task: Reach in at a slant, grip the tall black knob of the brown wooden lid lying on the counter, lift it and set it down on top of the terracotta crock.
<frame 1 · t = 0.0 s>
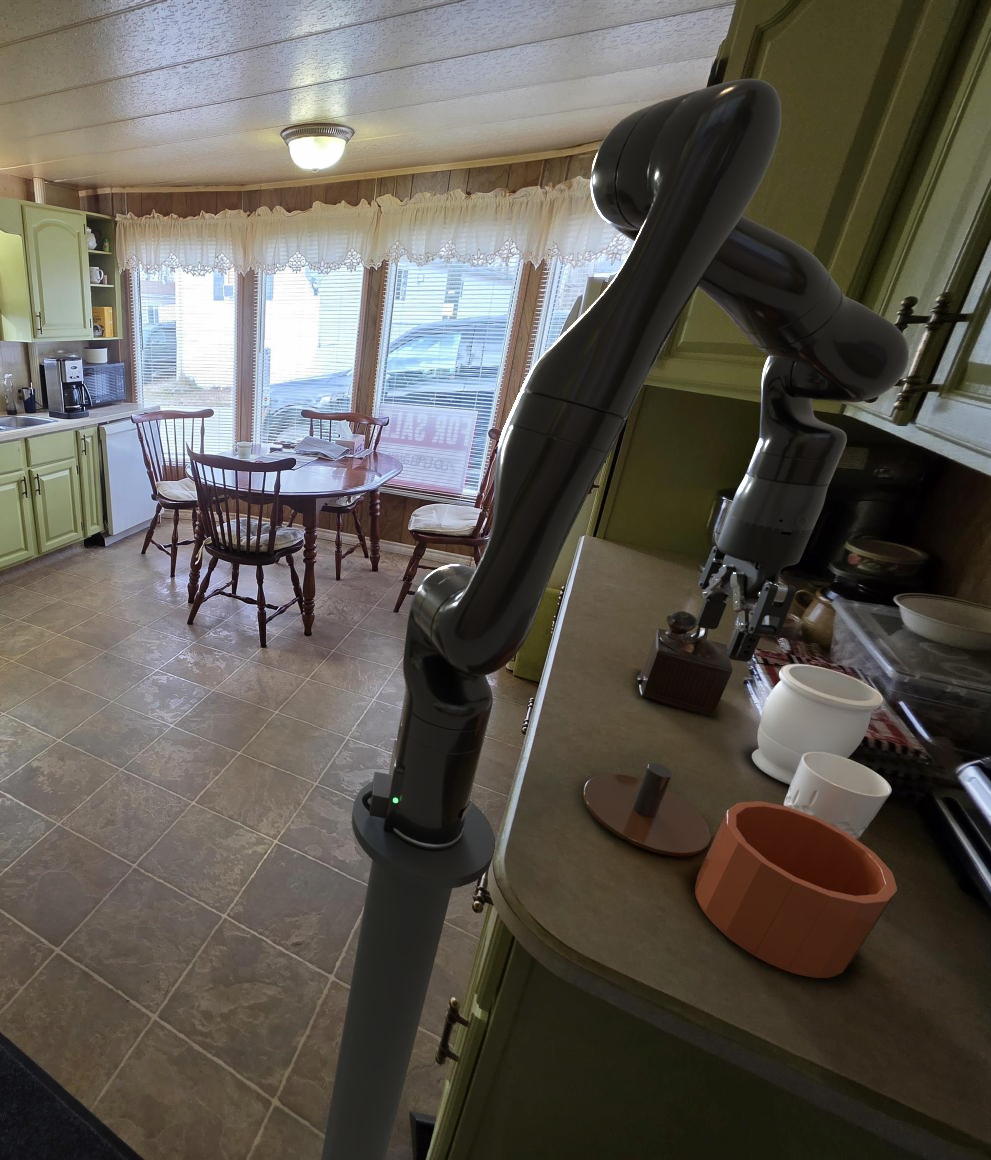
hand: (720, 642, 76), 23 cm above the countertop, tool pointing down, fingers open, 8 cm apart
white cup: (810, 836, 77), on the countertop
manual coffee grinder: (673, 700, 105), on the countertop
lid: (643, 813, 79), point 1 cm above the countertop
crock: (767, 919, 66), on the countertop
jar: (786, 771, 89), on the countertop
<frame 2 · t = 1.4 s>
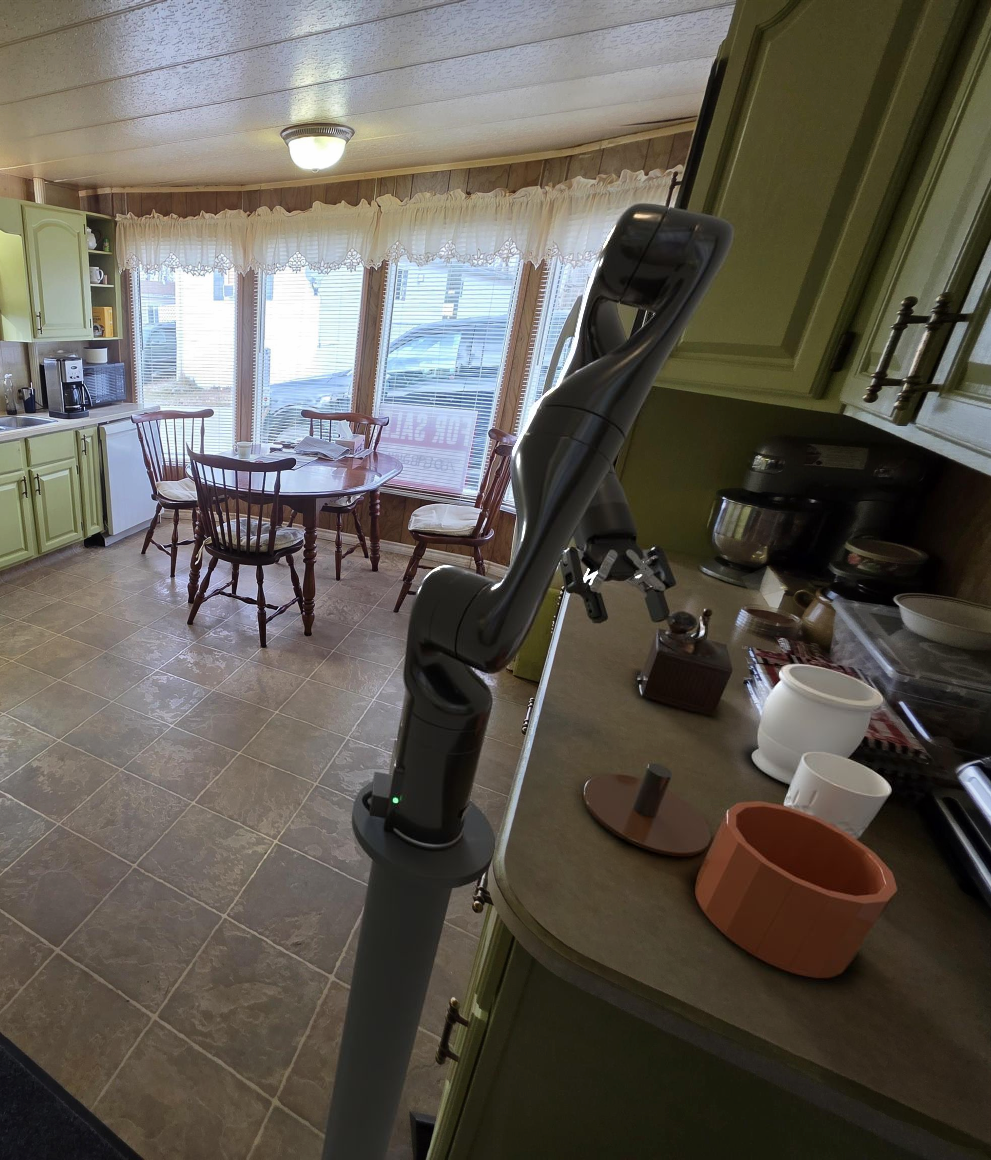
hand: (631, 621, 81), 23 cm above the countertop, tool tilted 45°, fingers open, 8 cm apart
nothing on the countertop moved.
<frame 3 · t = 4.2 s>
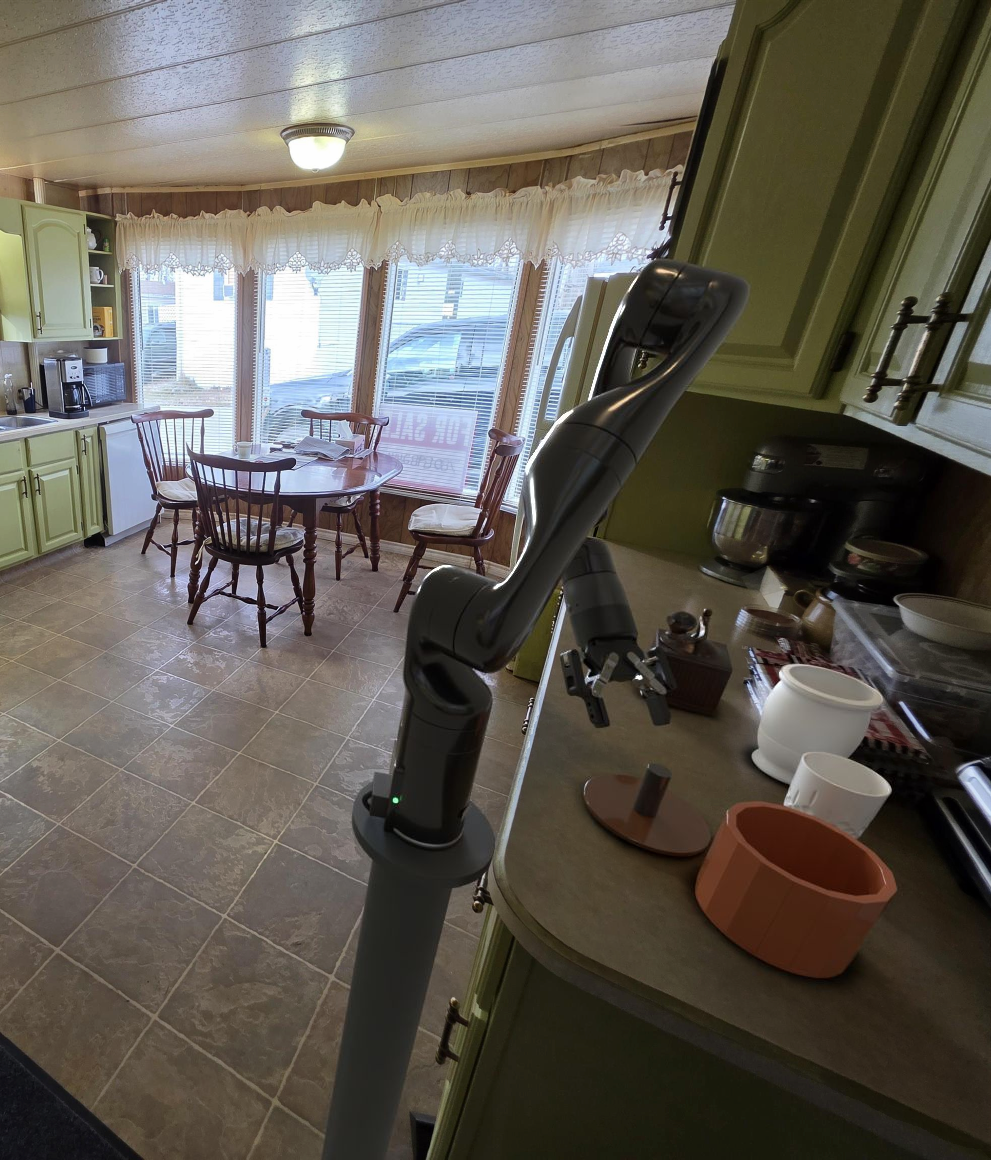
hand: (632, 726, 81), 10 cm above the countertop, tool tilted 45°, fingers open, 8 cm apart
nothing on the countertop moved.
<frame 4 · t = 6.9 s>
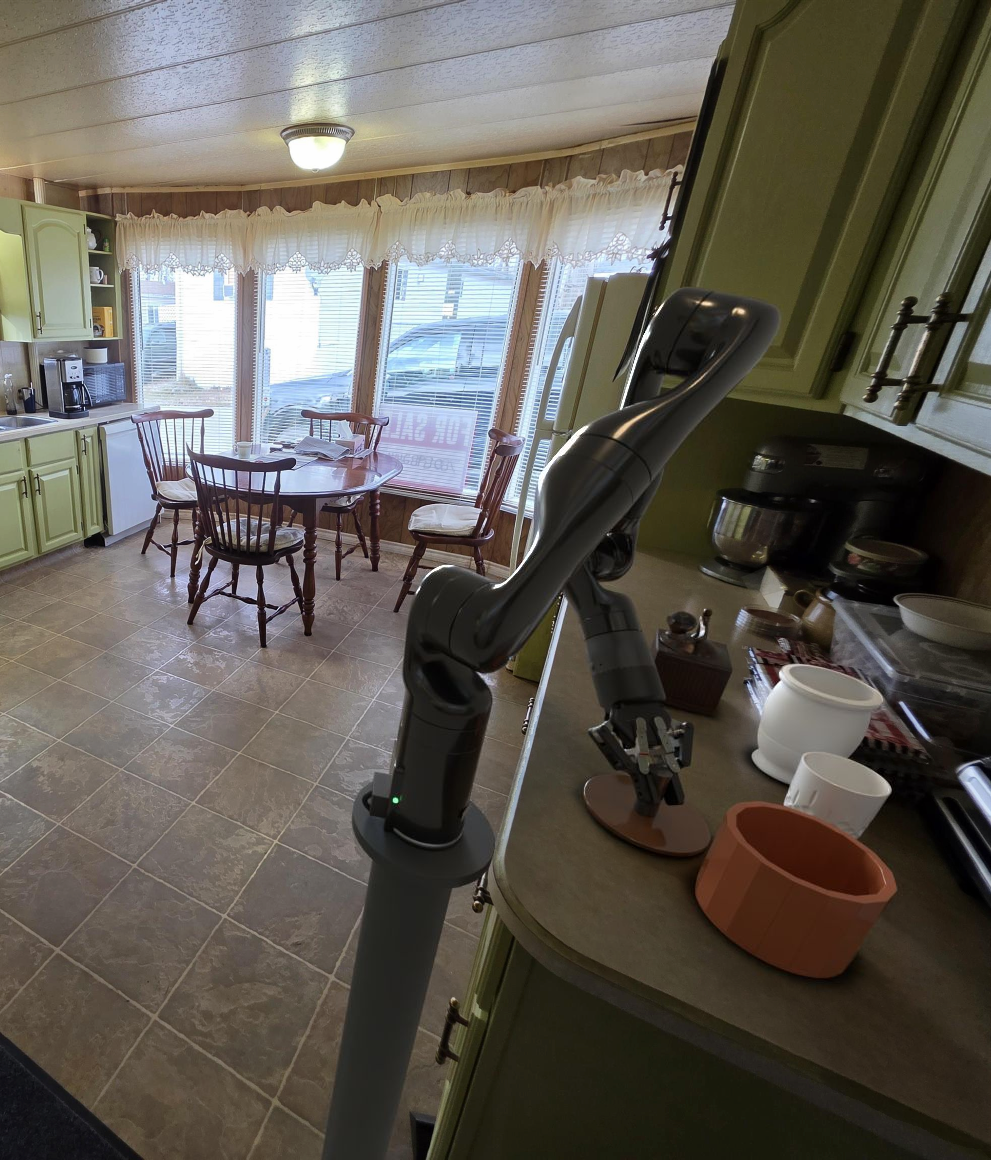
hand: (663, 805, 76), 4 cm above the countertop, tool tilted 45°, fingers closed on lid, 2 cm apart
lid: (643, 813, 79), point 1 cm above the countertop, touching gripper
everything else where it was.
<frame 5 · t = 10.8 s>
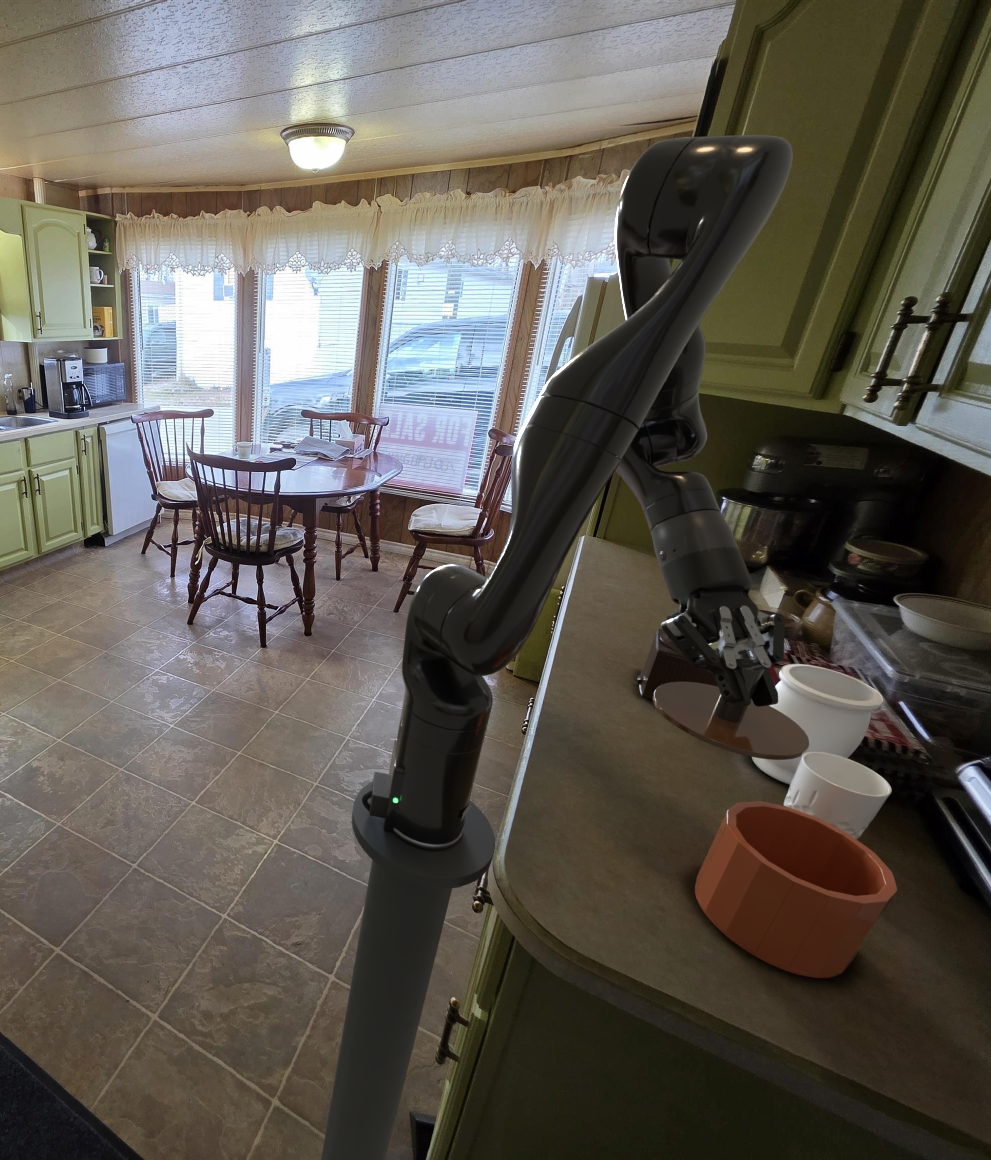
hand: (753, 705, 65), 22 cm above the countertop, tool tilted 45°, fingers closed on lid, 2 cm apart
lid: (725, 719, 68), point 18 cm above the countertop, touching gripper
everything else where it was.
when the fingers open (14 cm above the countertop, at t = 14.9 s): lid stays where it is, resting on crock.
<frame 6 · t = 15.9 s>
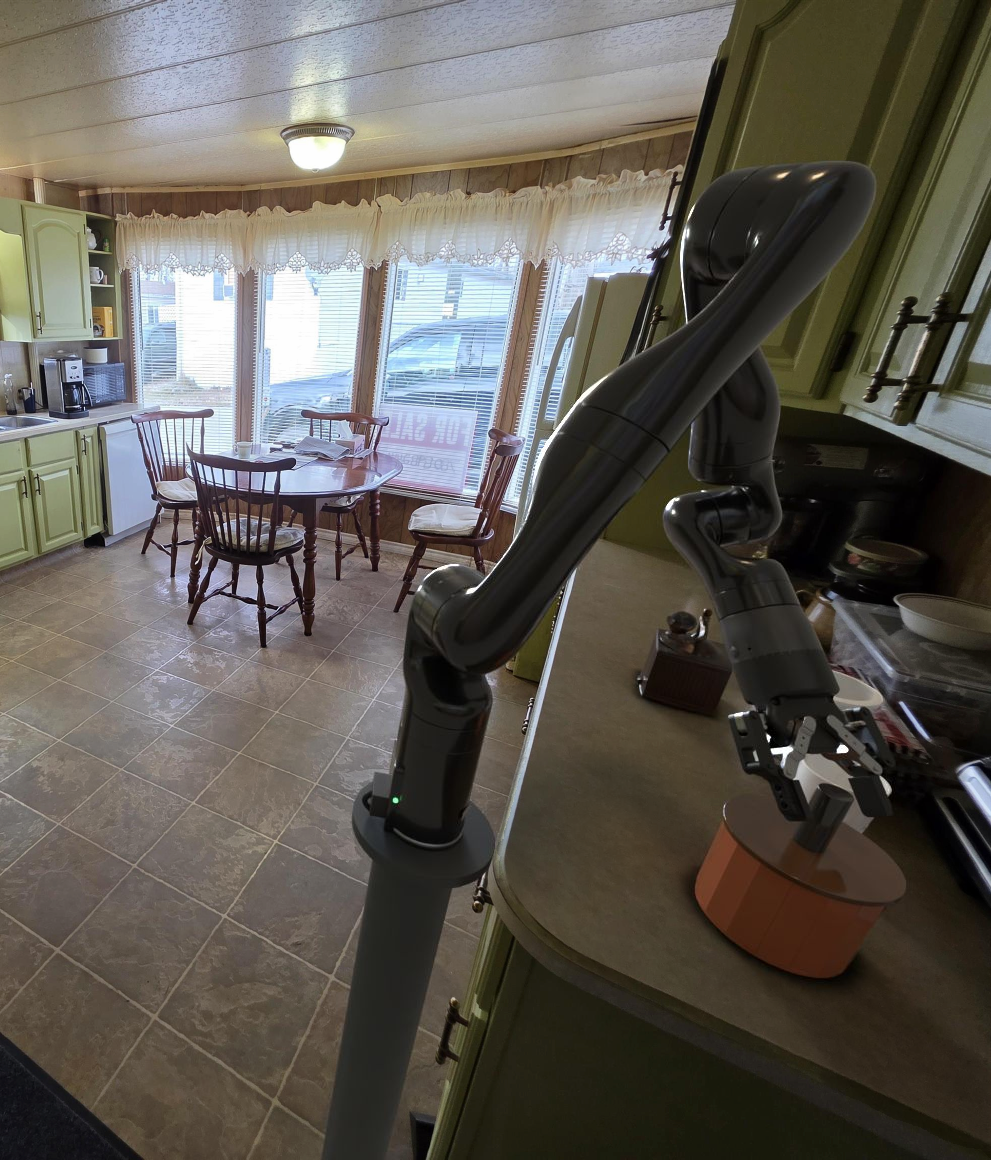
hand: (840, 819, 59), 15 cm above the countertop, tool tilted 45°, fingers open, 8 cm apart
lid: (806, 846, 62), point 10 cm above the countertop, touching crock
everything else where it was.
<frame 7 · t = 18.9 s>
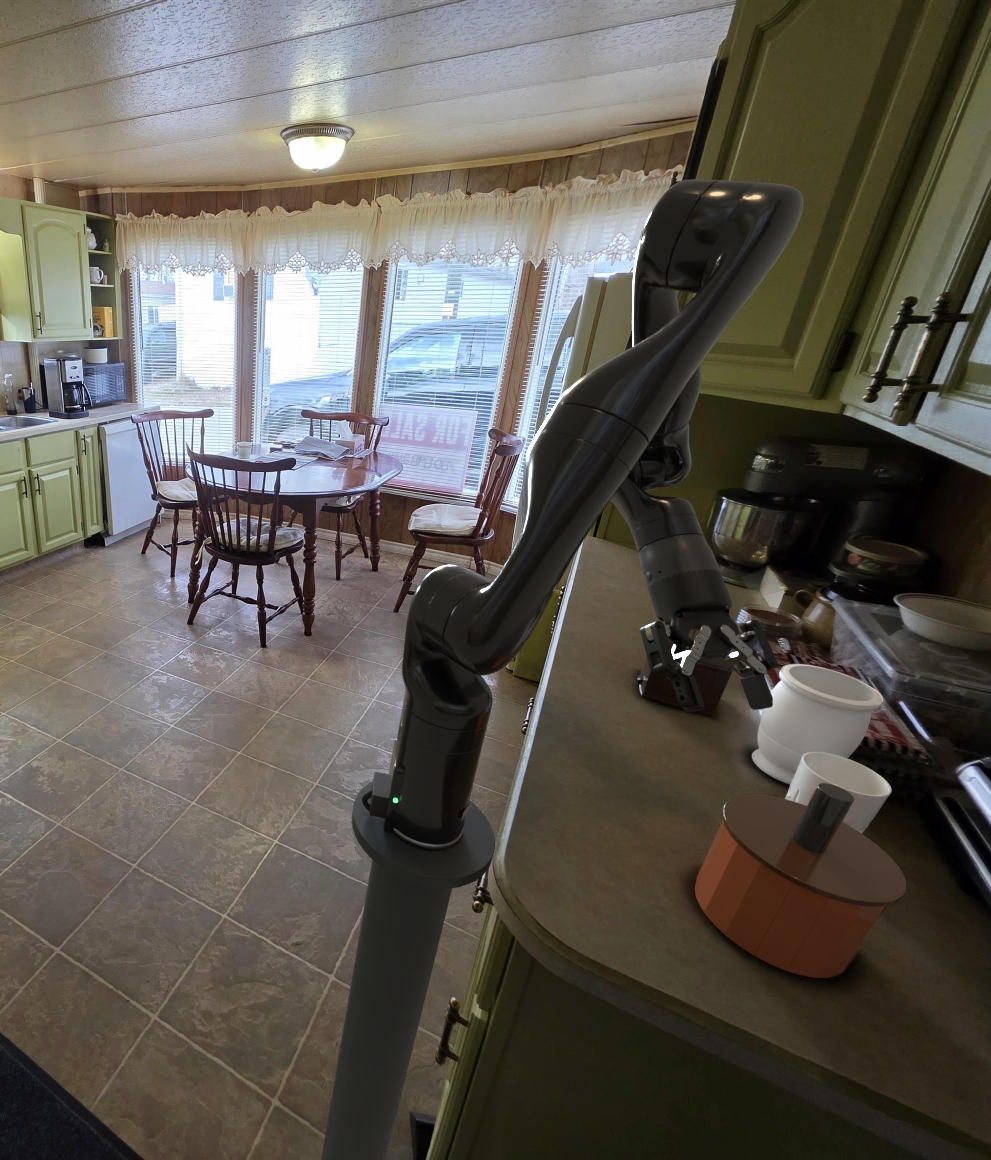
hand: (729, 709, 70), 19 cm above the countertop, tool tilted 45°, fingers open, 8 cm apart
nothing on the countertop moved.
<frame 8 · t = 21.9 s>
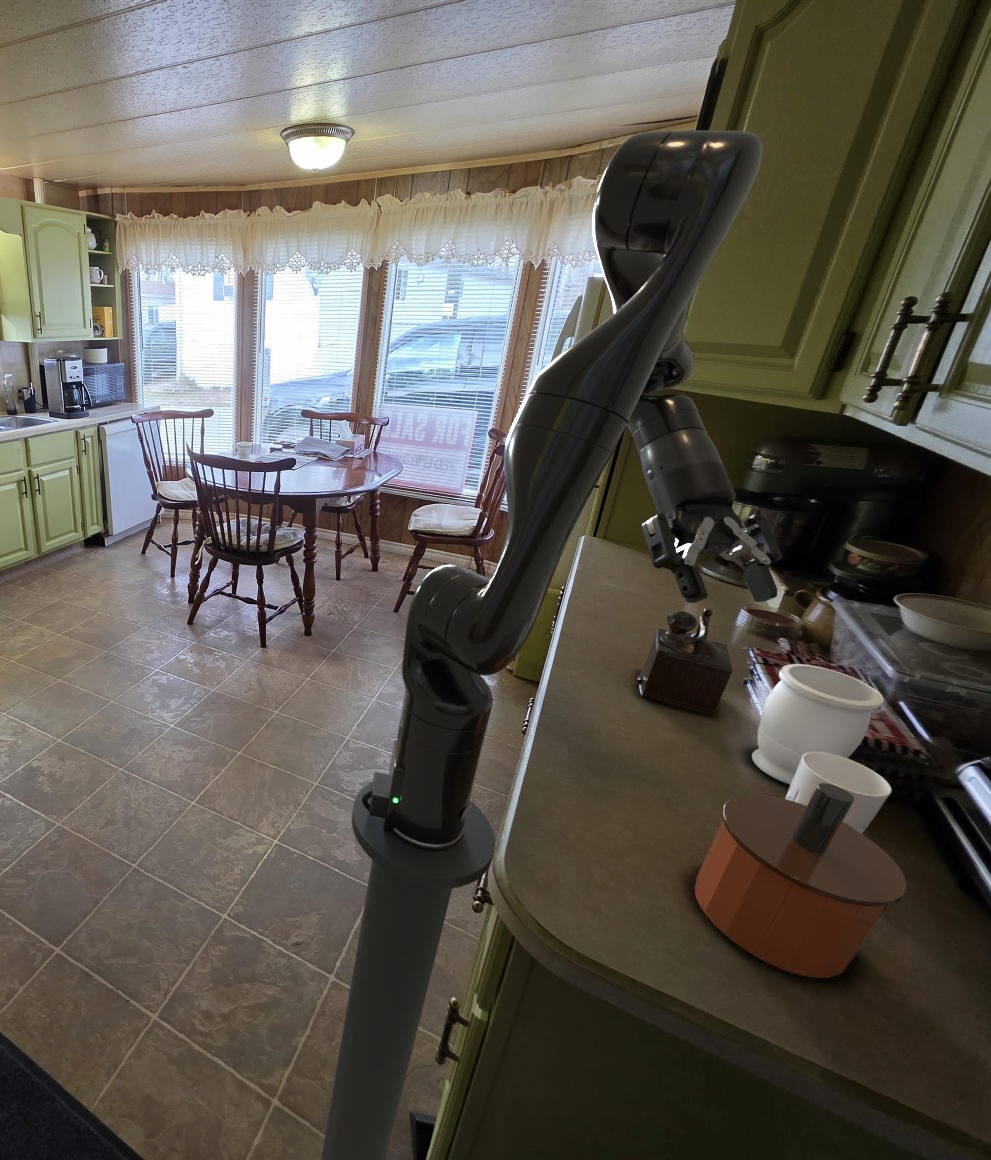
hand: (732, 600, 69), 31 cm above the countertop, tool tilted 45°, fingers open, 8 cm apart
nothing on the countertop moved.
at the end: lid 0.0 cm off-centre on the crock, point 10.5 cm above the crock's base; lid tilted 0°; the gripper is holding nothing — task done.
